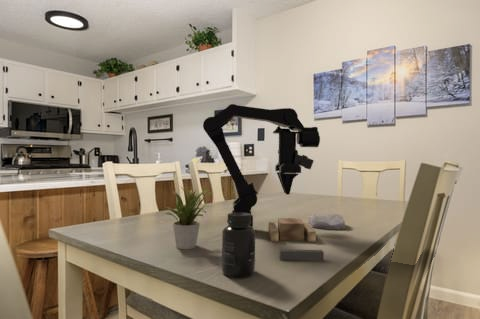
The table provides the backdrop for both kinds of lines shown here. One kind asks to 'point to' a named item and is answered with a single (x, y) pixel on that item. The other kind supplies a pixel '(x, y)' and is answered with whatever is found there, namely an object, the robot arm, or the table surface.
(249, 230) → the supplement bottle
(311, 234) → the oak chute
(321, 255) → the bar
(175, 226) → the house plant
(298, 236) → the walnut block
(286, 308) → the table surface
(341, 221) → the stone block
